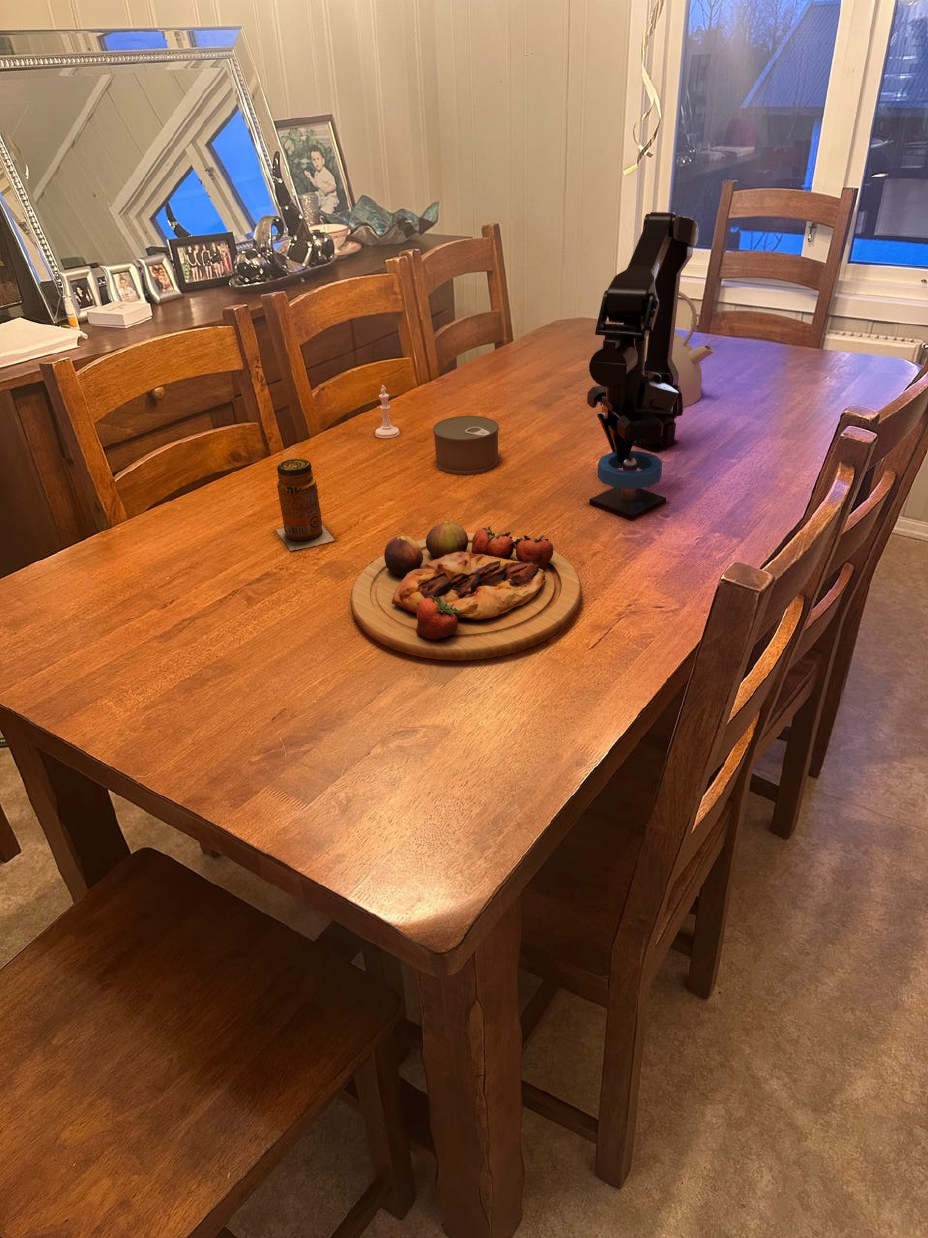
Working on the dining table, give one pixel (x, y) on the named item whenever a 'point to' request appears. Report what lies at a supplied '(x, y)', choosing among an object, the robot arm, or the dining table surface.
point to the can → (466, 444)
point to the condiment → (300, 506)
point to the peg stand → (628, 498)
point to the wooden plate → (465, 594)
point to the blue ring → (630, 479)
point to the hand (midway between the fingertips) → (620, 460)
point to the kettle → (687, 361)
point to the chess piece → (386, 418)
